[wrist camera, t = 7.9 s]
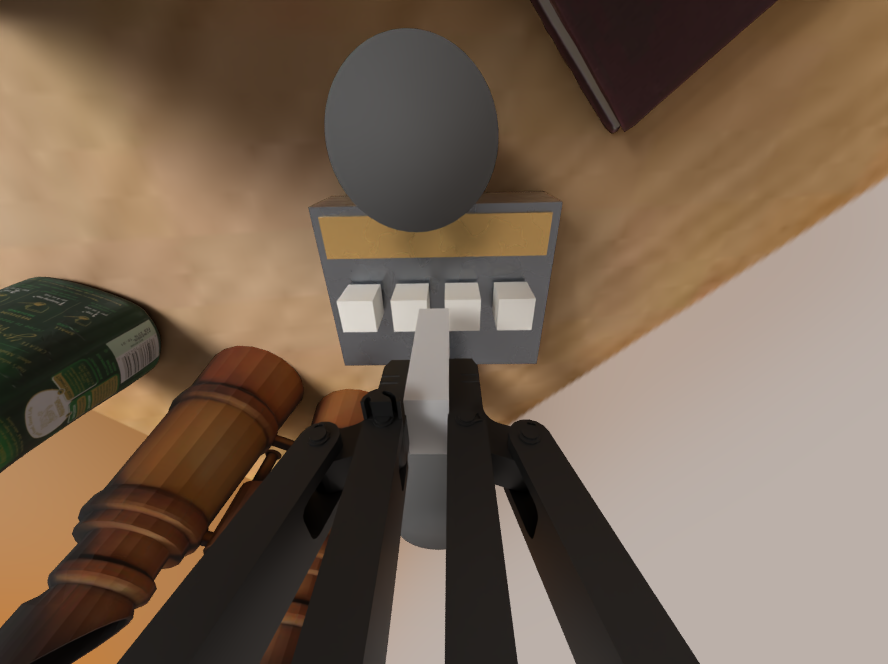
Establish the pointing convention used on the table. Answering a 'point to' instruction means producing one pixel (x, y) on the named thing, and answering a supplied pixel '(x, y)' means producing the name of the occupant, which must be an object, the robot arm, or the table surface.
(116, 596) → the binoculars
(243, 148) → the table surface
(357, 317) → the row of white cubes
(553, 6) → the book
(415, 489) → the post
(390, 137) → the post
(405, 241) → the breaker box
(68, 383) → the coffee jar
